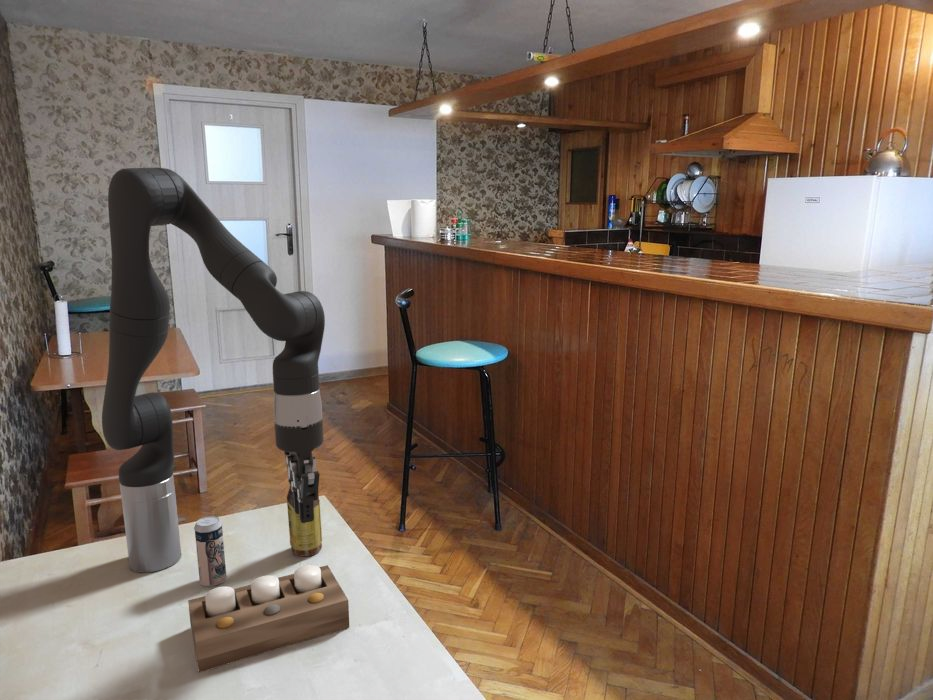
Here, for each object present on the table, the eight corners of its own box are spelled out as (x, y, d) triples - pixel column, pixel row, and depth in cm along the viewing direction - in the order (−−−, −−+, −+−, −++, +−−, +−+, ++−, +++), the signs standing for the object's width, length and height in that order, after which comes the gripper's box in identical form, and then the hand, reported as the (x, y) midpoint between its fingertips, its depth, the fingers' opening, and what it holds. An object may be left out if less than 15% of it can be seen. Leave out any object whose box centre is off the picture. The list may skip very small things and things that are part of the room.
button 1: (205, 607, 106) (203, 590, 105) (233, 600, 108) (232, 583, 107) (208, 622, 102) (206, 605, 101) (237, 614, 104) (236, 597, 103)
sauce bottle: (298, 541, 135) (292, 450, 131) (327, 543, 134) (322, 451, 130) (285, 558, 129) (278, 462, 124) (315, 560, 128) (310, 464, 124)
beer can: (217, 589, 118) (212, 528, 115) (193, 586, 119) (187, 525, 116) (232, 575, 122) (227, 516, 120) (209, 572, 123) (203, 513, 121)
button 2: (250, 596, 109) (248, 579, 108) (276, 589, 111) (275, 573, 110) (254, 609, 105) (253, 593, 104) (282, 602, 107) (281, 585, 106)
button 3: (292, 585, 112) (291, 569, 111) (317, 578, 114) (316, 562, 113) (298, 598, 108) (297, 581, 108) (324, 591, 110) (323, 575, 110)
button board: (190, 627, 107) (188, 598, 106) (328, 590, 117) (327, 563, 116) (198, 672, 97) (195, 640, 95) (349, 627, 107) (348, 598, 106)
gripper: (265, 409, 109) (272, 505, 113) (284, 433, 97) (291, 540, 101) (310, 403, 113) (315, 496, 116) (333, 426, 100) (338, 529, 104)
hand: (304, 516), depth 108 cm, fingers open, 3 cm apart
